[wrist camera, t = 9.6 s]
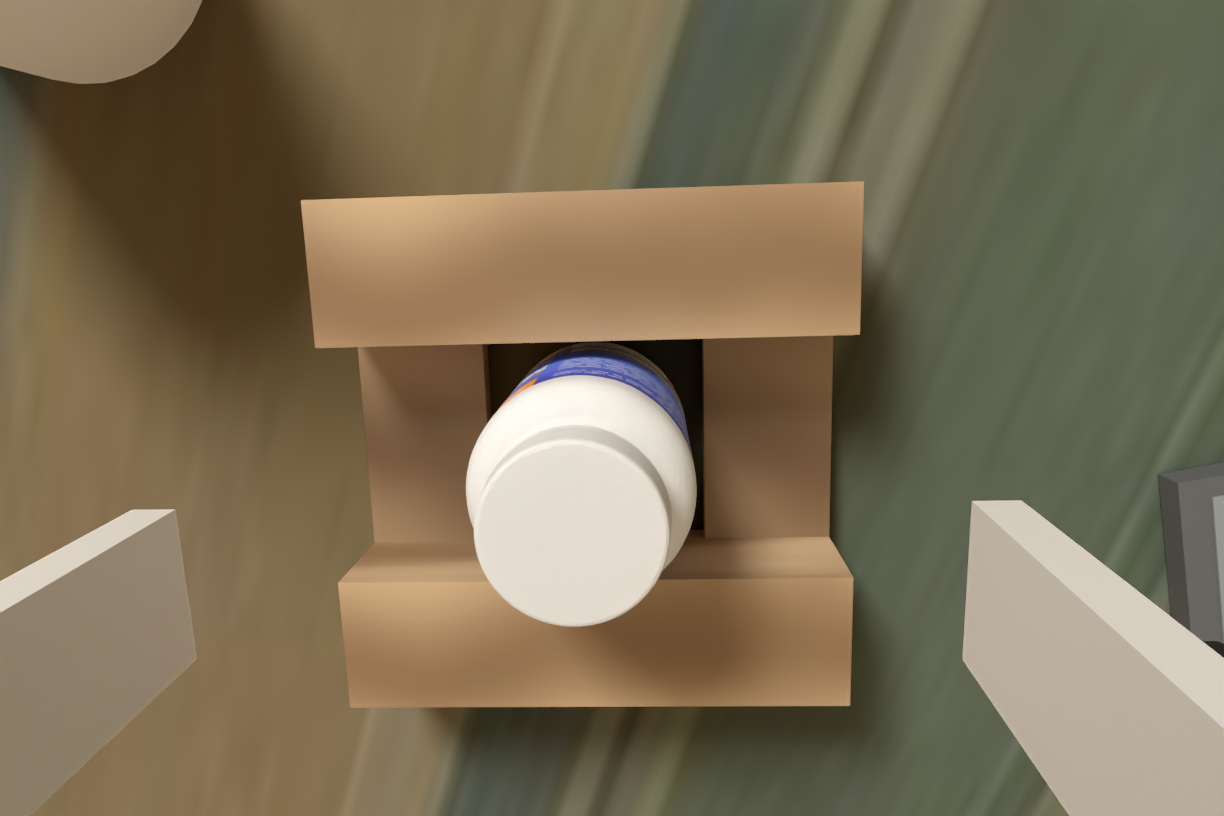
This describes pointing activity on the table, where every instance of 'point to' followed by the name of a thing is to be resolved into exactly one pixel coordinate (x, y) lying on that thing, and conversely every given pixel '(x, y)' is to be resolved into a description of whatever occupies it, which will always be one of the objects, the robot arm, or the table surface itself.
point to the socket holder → (580, 312)
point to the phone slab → (1195, 547)
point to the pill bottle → (582, 485)
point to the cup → (90, 36)
